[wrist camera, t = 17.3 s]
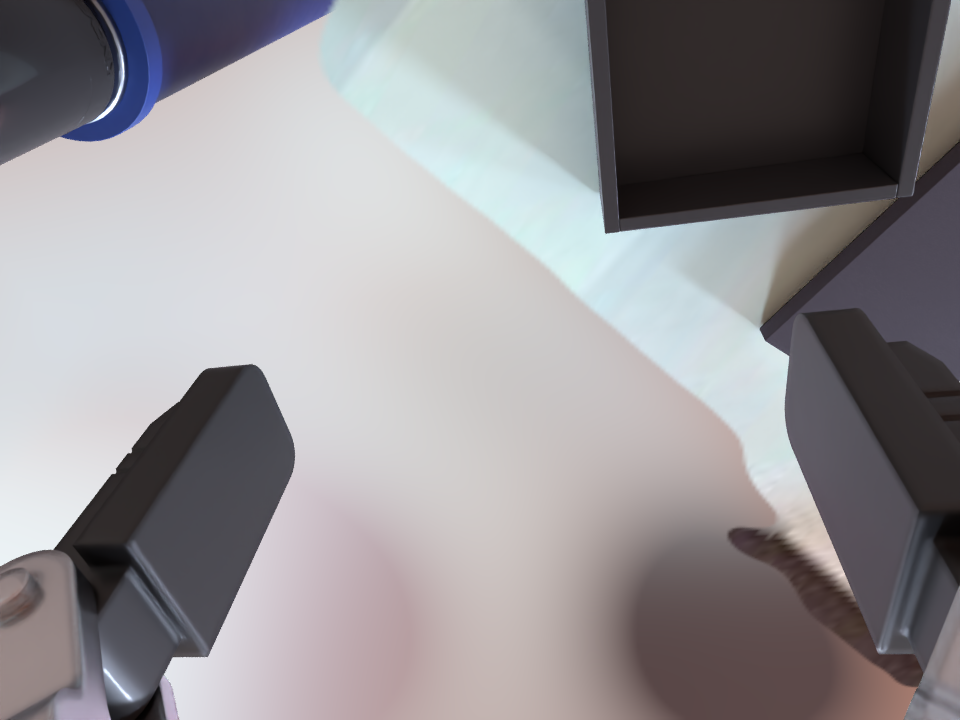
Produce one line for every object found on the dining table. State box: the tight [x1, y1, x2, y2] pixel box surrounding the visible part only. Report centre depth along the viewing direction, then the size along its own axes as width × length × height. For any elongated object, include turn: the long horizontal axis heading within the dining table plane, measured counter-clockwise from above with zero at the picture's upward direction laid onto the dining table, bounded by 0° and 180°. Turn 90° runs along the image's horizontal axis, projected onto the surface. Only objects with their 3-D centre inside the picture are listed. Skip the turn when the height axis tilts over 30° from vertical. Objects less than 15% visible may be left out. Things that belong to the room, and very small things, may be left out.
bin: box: [585, 0, 951, 234], centre depth 33 cm, size 16×18×6 cm
